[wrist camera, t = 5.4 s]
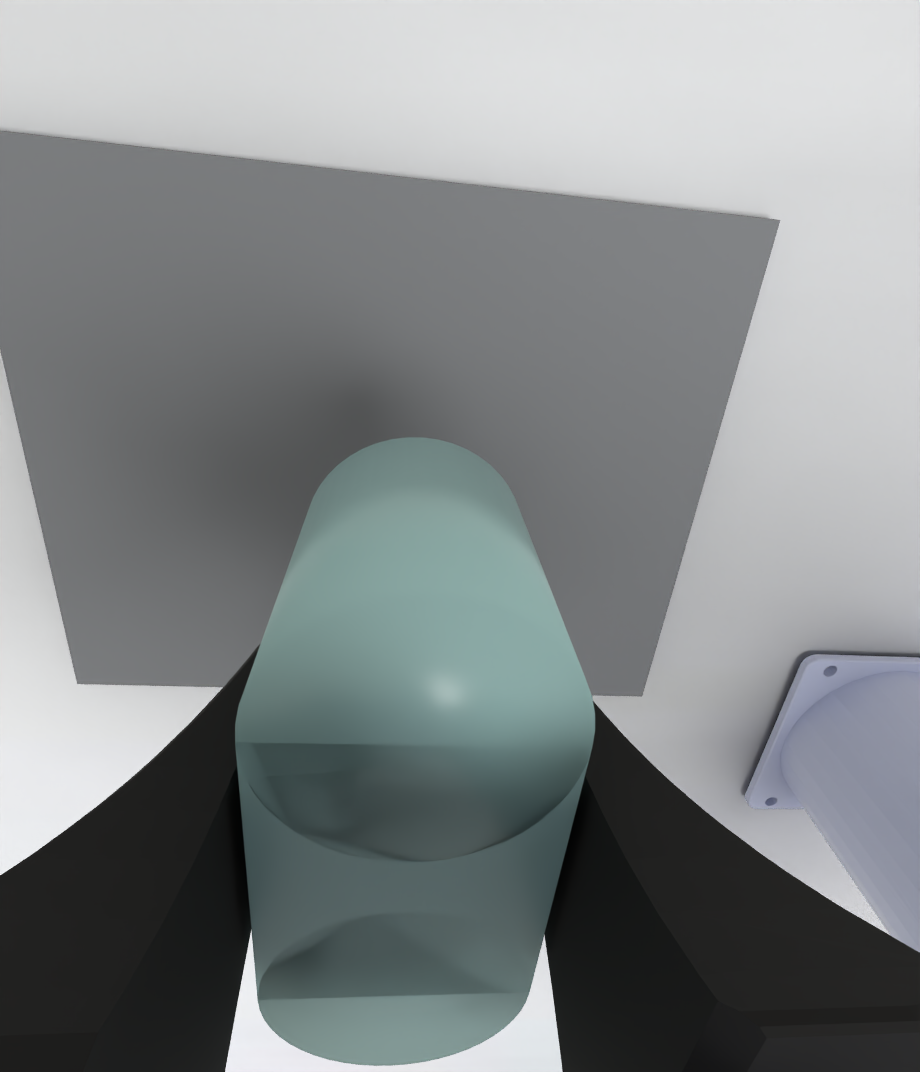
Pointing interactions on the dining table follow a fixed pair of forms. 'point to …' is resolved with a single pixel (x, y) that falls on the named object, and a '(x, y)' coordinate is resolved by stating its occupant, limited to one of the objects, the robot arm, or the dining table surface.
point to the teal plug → (408, 762)
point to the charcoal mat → (349, 381)
